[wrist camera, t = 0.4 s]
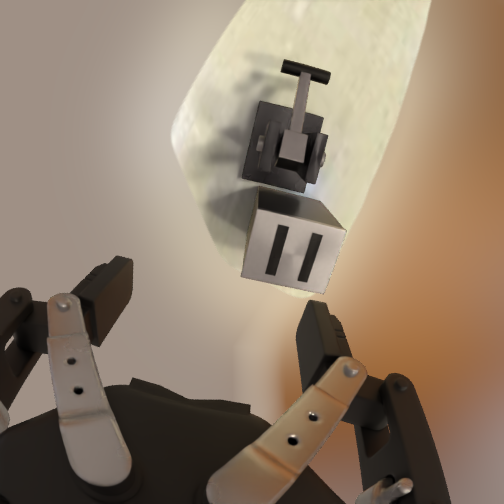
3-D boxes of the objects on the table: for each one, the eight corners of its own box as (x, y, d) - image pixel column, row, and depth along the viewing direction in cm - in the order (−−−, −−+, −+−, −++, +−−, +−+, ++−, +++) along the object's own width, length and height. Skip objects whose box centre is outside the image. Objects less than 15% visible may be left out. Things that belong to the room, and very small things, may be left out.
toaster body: (258, 185, 37) (257, 208, 25) (321, 200, 37) (347, 231, 26) (246, 234, 39) (240, 277, 28) (306, 248, 40) (324, 295, 28)
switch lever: (281, 67, 26) (285, 53, 24) (326, 79, 27) (332, 67, 24) (258, 162, 25) (261, 152, 23) (312, 176, 26) (319, 167, 23)
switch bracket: (259, 101, 32) (259, 84, 21) (322, 118, 33) (352, 110, 21) (241, 177, 36) (232, 197, 24) (302, 191, 37) (322, 219, 25)
